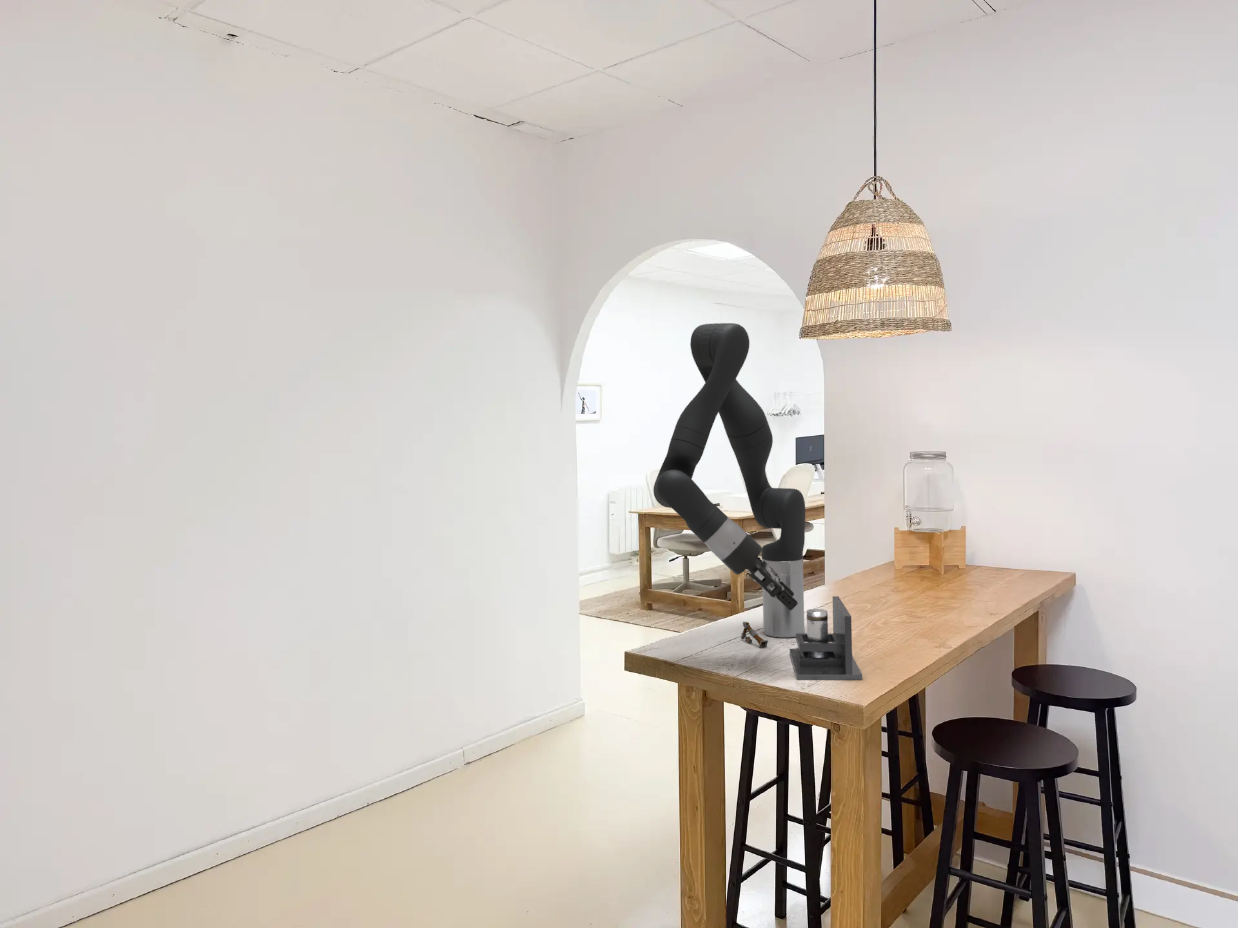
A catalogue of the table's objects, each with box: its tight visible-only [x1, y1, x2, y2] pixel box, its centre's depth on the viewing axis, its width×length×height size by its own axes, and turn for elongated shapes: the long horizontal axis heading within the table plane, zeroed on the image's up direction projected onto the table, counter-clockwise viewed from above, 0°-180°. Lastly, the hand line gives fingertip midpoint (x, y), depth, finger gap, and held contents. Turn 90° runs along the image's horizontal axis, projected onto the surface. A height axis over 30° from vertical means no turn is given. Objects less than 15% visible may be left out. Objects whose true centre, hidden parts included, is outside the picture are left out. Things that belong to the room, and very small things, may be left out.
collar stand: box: [789, 595, 863, 681], centre depth 169 cm, size 18×12×12 cm, turn 173°
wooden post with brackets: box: [740, 621, 769, 649], centre depth 188 cm, size 2×8×4 cm, turn 29°
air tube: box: [806, 608, 829, 658], centre depth 169 cm, size 4×4×10 cm
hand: (792, 601), depth 170 cm, fingers open, 8 cm apart
